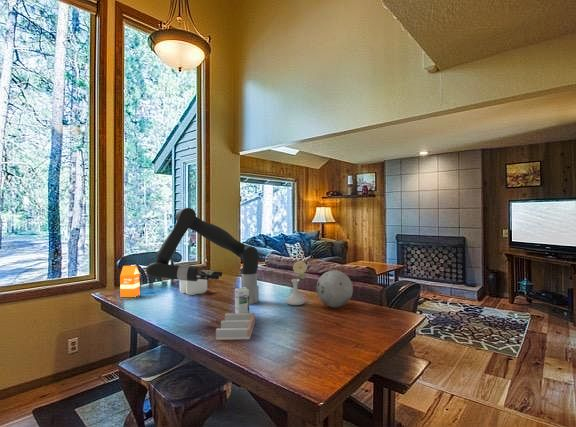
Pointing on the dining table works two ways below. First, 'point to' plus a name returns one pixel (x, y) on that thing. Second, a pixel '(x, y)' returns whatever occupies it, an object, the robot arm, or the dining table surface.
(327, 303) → the moon model
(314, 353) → the dining table surface
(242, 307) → the syrup box
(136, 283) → the orange juice
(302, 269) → the flower in vase
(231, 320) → the divided tray
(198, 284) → the cable organizer
